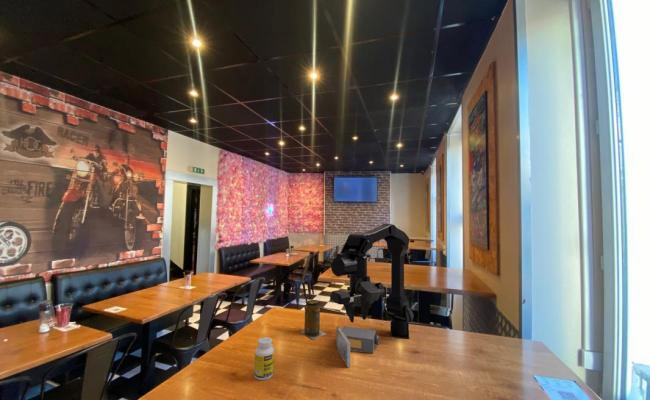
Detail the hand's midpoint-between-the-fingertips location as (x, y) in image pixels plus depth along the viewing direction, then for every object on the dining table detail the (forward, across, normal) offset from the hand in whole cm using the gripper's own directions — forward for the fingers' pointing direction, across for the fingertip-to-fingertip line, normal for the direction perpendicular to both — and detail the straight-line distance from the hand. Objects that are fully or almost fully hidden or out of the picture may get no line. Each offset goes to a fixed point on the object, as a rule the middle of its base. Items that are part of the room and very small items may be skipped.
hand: (358, 320), depth 87 cm
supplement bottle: (+12, -29, +6) cm, 32 cm away
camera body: (+12, +6, +8) cm, 15 cm away
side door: (+12, -4, +3) cm, 13 cm away
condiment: (+12, -3, +24) cm, 27 cm away
